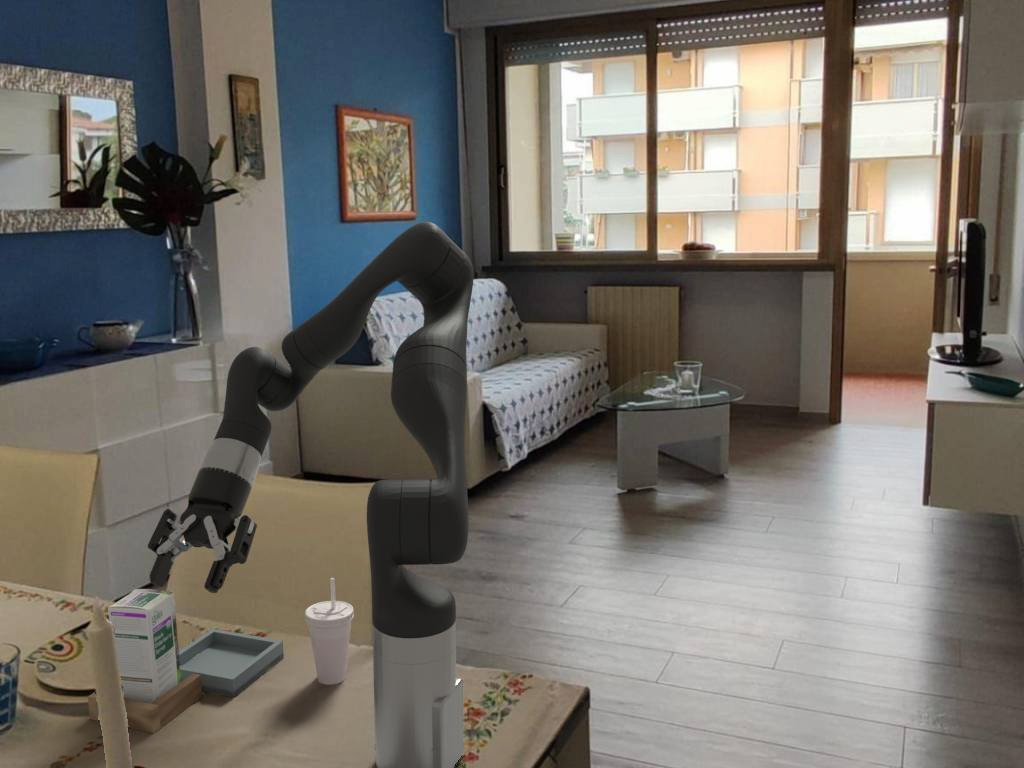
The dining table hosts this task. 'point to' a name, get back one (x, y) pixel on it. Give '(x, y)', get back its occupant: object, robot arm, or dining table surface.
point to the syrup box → (146, 643)
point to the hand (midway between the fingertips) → (182, 587)
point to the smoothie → (330, 637)
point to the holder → (157, 706)
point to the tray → (229, 660)
